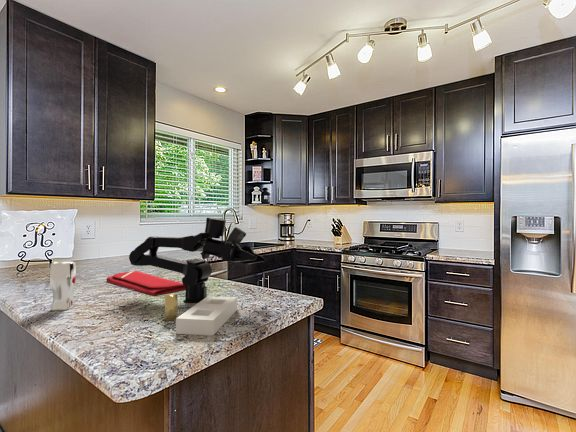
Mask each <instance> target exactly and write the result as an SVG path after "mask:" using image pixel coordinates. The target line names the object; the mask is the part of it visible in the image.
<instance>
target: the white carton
mask: <svg viewBox="0 0 576 432" xmlns="http://www.w3.org/2000/svg"><path fill="white" fill-rule="evenodd" d="M76 269H77V267H76V261H74V260H61V261H55V262H51V263H50V268H49V282H50V288H51V289H50V290H51V292H52V305H51V310H52V311H54V312H57V311H58V312H61V311H66V310H67V311H68V310H70V309H71V310H72V309H73V308H75V303H74V298H73V297H74V296H73V294H74V290H75V284H76V279H77V273H76V272H77V270H76Z"/></svg>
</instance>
